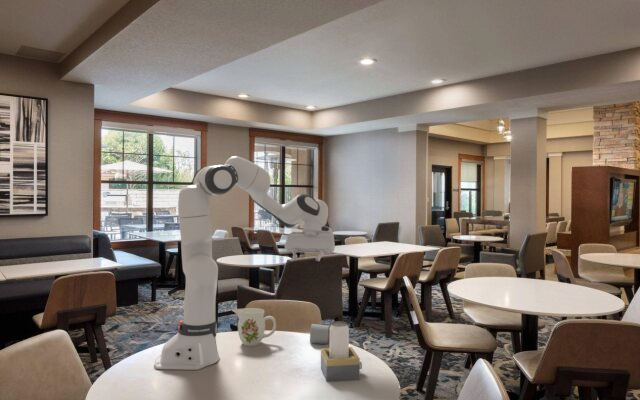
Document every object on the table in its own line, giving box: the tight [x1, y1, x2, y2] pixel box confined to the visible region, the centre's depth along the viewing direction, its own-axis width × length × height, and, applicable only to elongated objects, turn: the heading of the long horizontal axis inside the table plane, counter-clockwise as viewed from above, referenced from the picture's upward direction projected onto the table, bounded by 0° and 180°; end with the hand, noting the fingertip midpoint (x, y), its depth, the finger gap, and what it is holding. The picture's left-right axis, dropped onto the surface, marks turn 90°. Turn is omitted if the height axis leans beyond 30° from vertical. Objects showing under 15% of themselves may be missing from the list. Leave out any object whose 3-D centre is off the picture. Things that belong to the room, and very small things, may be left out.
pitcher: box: [231, 307, 277, 347], centre depth 180 cm, size 11×18×14 cm, turn 94°
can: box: [329, 320, 350, 359], centre depth 149 cm, size 6×6×12 cm
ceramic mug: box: [309, 323, 331, 345], centre depth 182 cm, size 11×8×8 cm
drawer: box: [320, 346, 363, 383], centre depth 149 cm, size 13×11×7 cm
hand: (305, 259), depth 172 cm, fingers open, 8 cm apart
